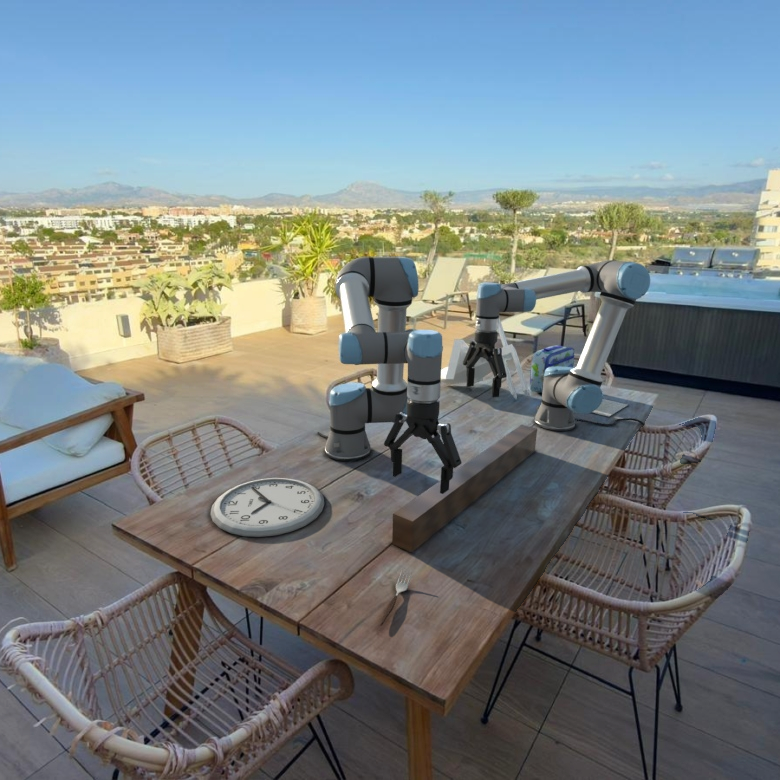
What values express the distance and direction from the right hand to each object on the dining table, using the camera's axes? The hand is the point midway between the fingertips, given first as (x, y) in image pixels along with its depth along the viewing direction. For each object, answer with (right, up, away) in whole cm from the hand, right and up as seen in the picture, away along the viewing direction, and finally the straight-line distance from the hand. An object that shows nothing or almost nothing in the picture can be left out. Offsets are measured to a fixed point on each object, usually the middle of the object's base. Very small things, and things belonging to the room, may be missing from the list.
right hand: (482, 391), depth 180 cm
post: (-7, -29, -27) cm, 40 cm away
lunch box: (+44, 0, +69) cm, 81 cm away
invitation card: (+60, -7, +47) cm, 76 cm away
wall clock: (-65, -31, -38) cm, 81 cm away
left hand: (-25, -22, -54) cm, 64 cm away
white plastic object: (+10, -1, +64) cm, 64 cm away
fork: (-31, -43, -73) cm, 90 cm away
